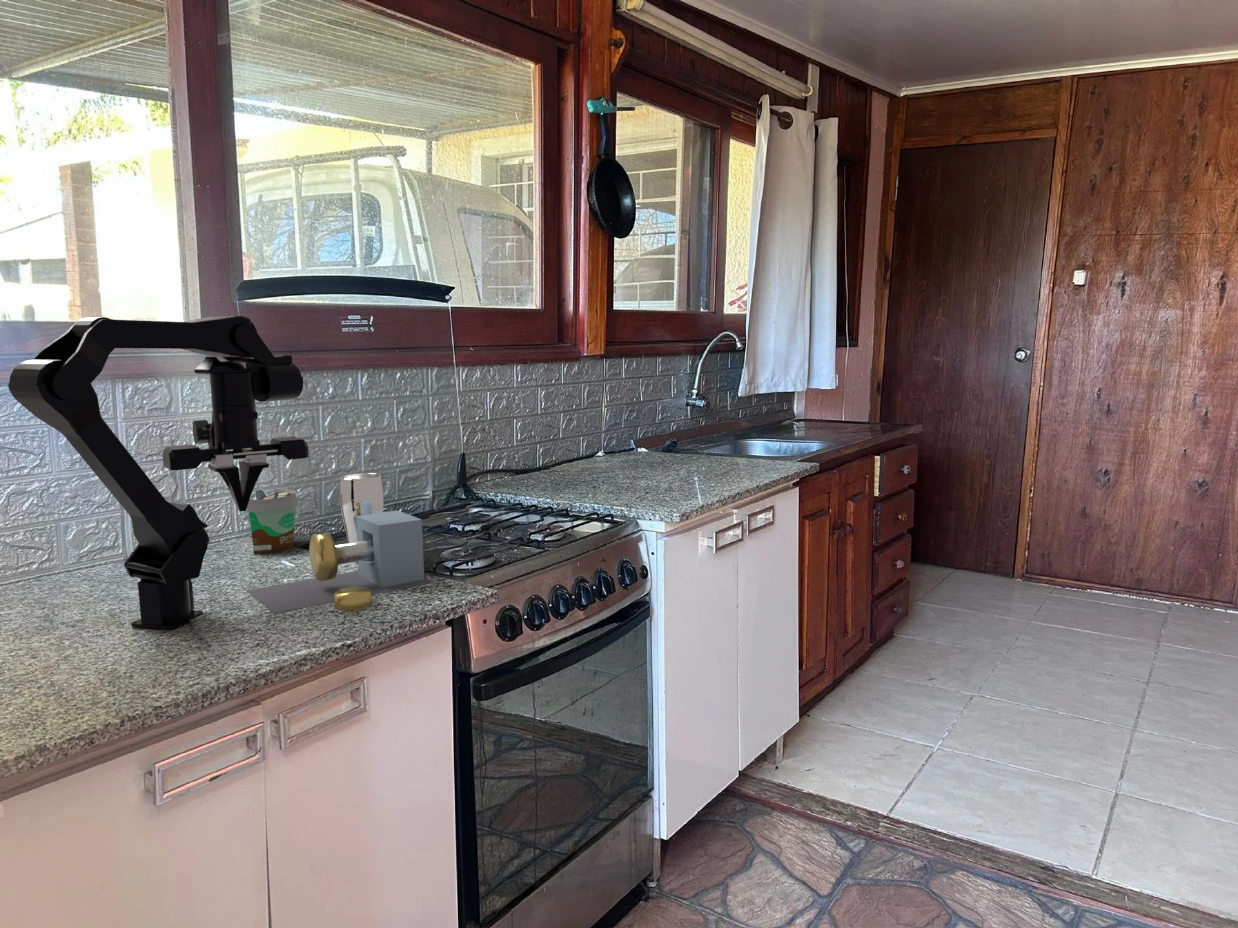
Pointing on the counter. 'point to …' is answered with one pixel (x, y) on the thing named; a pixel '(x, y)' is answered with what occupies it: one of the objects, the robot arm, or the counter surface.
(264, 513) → the food container
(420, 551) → the bearing block
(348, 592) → the gold domed disc
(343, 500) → the beer glass
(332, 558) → the shaft
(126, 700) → the counter surface
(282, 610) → the mat
